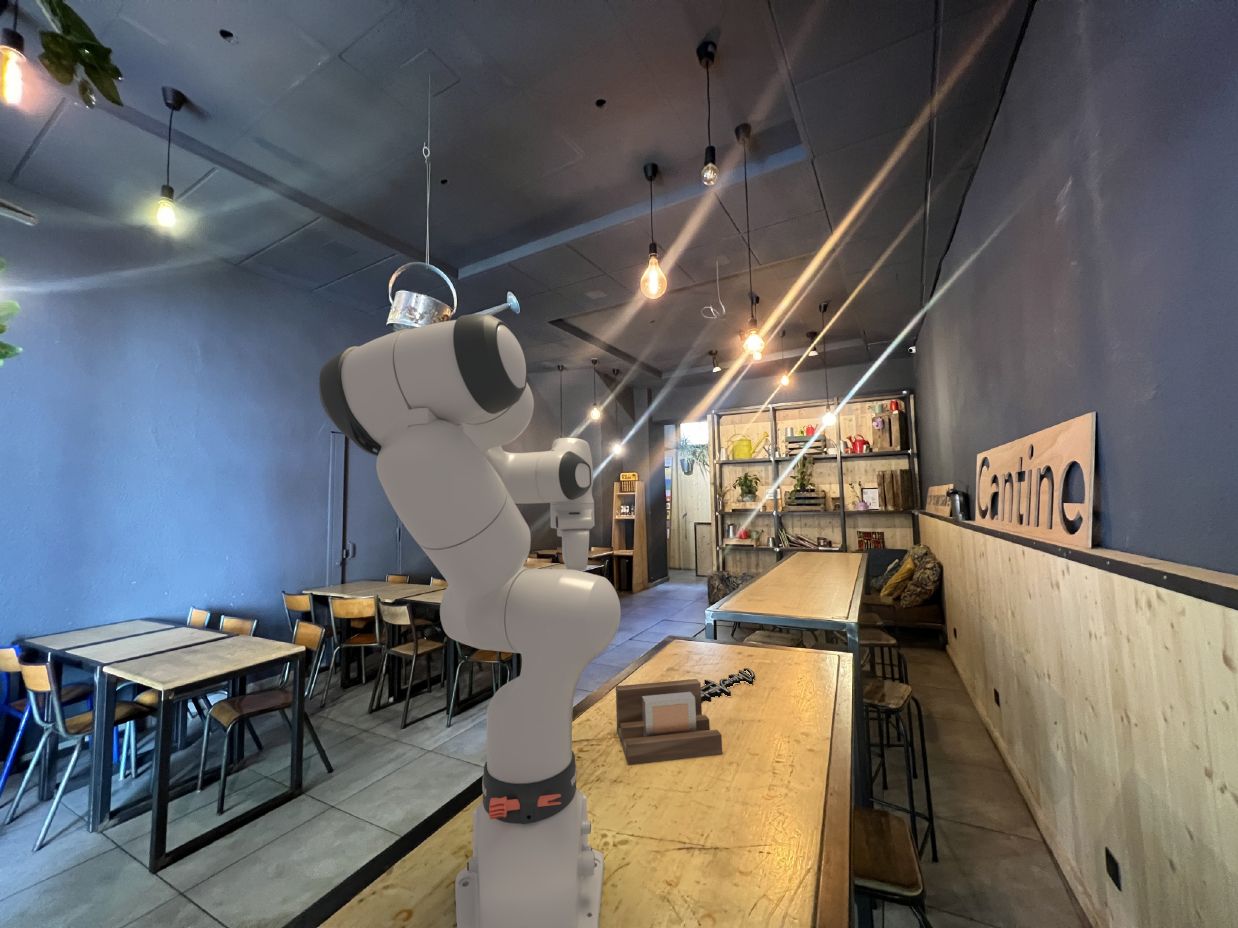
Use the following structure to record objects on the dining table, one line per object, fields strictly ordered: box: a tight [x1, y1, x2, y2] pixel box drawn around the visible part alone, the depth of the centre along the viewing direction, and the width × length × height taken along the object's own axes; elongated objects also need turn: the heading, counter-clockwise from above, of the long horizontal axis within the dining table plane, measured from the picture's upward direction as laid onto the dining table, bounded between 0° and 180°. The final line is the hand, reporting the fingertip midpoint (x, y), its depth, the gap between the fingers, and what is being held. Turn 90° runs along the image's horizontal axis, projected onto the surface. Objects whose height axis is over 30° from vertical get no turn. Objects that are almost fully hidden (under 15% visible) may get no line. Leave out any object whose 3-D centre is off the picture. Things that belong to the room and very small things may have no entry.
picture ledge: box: [615, 678, 723, 766], centre depth 96 cm, size 14×18×9 cm
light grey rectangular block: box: [642, 692, 696, 737], centre depth 94 cm, size 3×10×8 cm, turn 99°
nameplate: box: [701, 667, 756, 705], centre depth 123 cm, size 28×2×10 cm
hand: (573, 588), depth 95 cm, fingers open, 8 cm apart
